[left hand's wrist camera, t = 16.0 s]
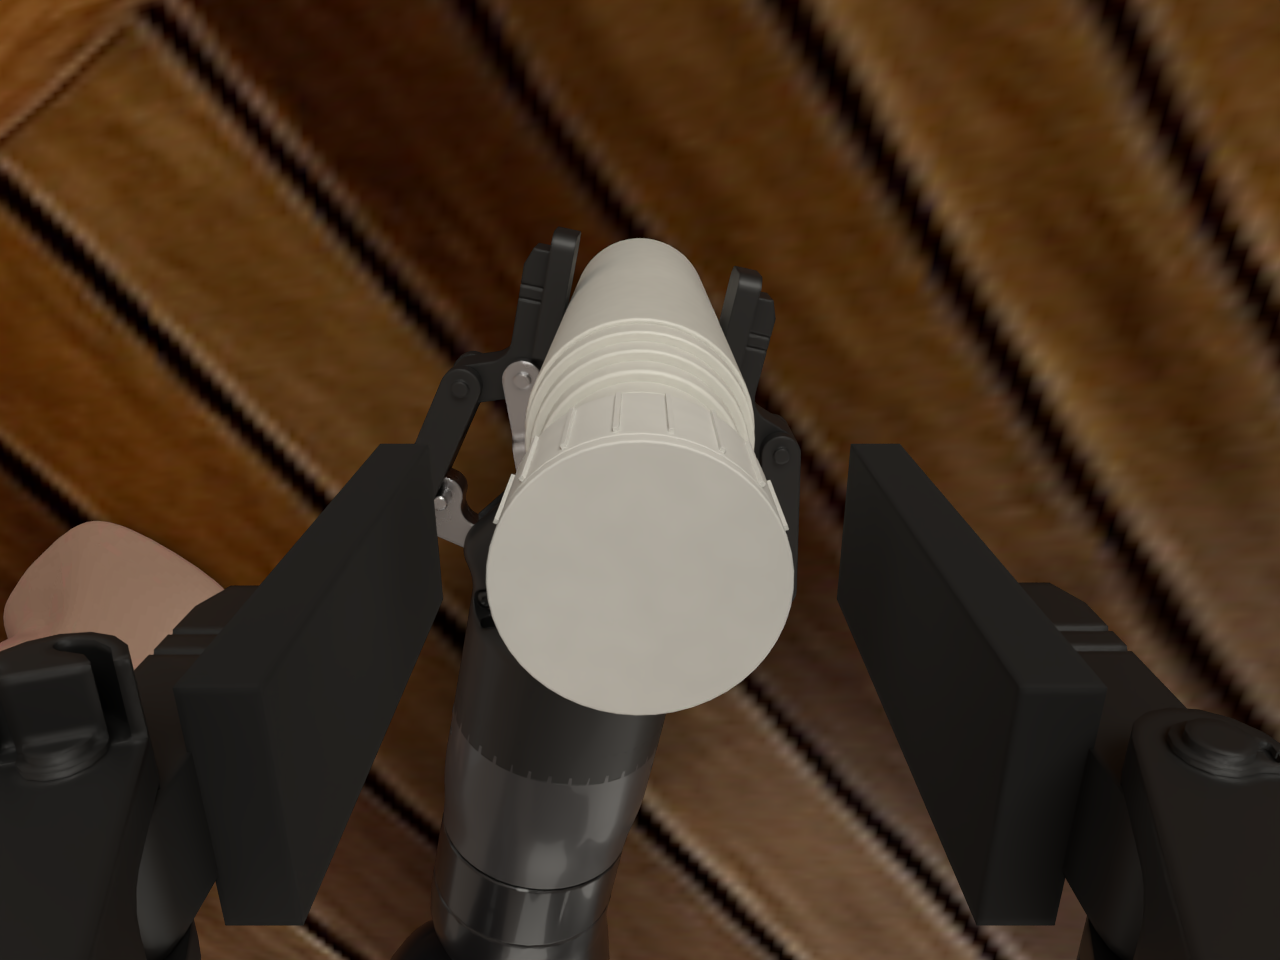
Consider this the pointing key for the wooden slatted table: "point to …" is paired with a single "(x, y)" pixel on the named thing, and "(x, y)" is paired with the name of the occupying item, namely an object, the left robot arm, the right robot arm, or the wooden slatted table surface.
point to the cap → (639, 557)
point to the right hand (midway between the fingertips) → (657, 253)
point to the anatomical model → (105, 589)
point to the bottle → (639, 340)
